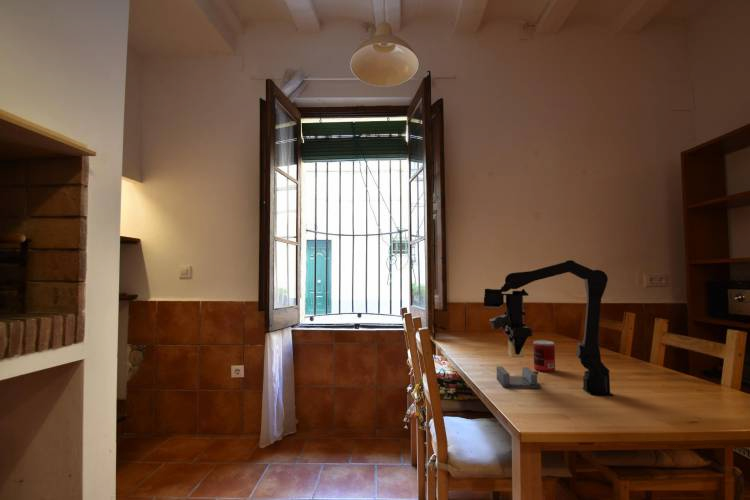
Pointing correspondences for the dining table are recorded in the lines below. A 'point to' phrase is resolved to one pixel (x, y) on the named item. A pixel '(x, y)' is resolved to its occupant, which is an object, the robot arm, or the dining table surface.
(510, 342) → the block
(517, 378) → the vise base
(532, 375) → the jaw
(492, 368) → the dining table surface
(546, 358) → the canned food
